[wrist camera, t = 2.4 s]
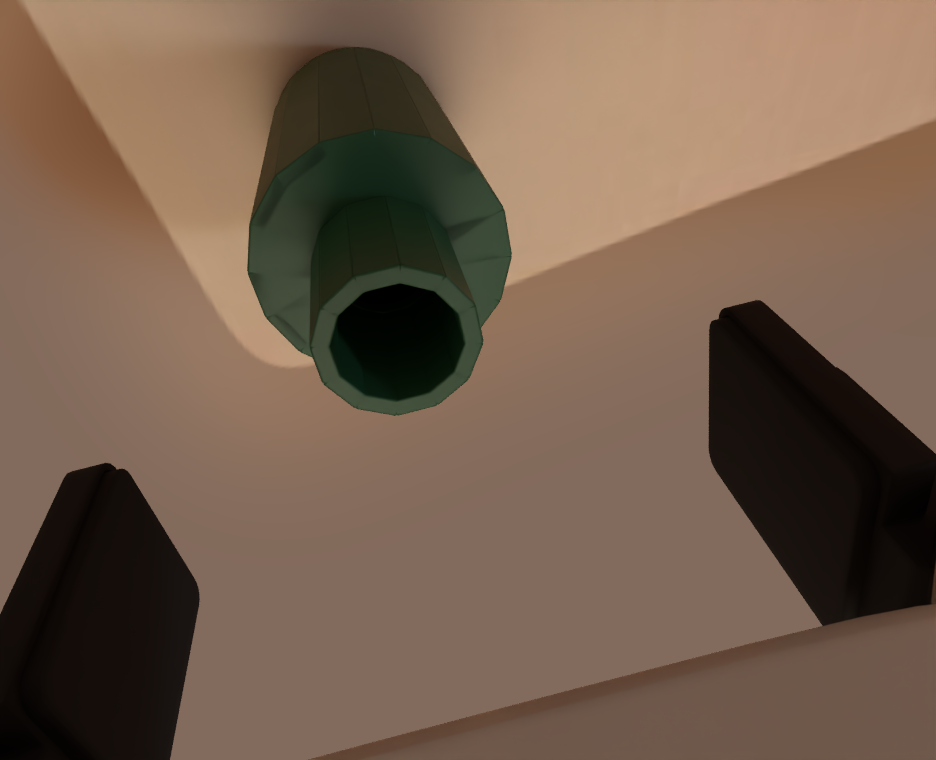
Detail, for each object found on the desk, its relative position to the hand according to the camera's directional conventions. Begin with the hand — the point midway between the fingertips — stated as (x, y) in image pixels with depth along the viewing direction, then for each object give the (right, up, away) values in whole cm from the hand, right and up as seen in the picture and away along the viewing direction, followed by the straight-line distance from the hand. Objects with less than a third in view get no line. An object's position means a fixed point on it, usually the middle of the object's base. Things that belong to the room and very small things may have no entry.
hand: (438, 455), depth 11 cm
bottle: (-4, +11, +16) cm, 20 cm away
